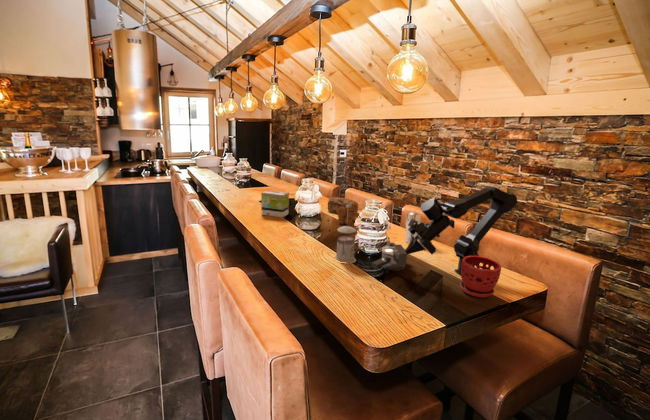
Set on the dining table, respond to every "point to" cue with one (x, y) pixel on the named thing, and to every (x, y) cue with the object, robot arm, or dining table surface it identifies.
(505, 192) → the robot arm
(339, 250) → the french press
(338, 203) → the bread
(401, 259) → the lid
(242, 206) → the dining table surface
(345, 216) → the stuffed squirrel
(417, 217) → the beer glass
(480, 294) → the plant pot
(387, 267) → the pot
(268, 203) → the tea box
